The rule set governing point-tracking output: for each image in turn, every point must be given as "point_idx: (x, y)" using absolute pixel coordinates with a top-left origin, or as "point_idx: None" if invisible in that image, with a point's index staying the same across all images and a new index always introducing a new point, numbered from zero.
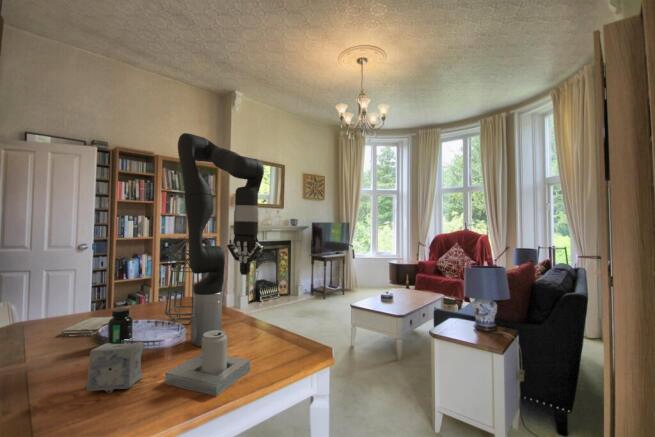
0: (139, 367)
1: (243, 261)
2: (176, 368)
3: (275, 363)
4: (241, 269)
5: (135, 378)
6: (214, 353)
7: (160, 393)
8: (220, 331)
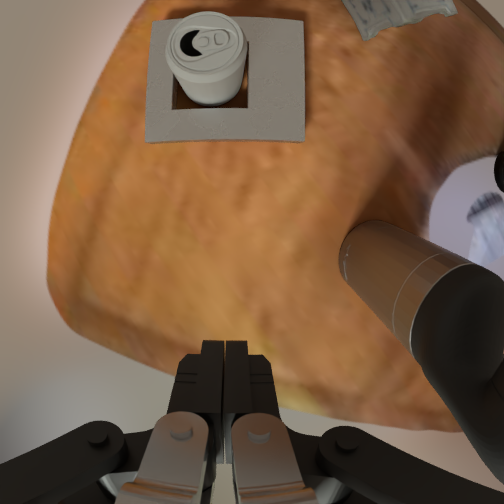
0: (370, 22)
1: (231, 442)
2: (296, 40)
3: (117, 205)
4: (241, 364)
5: (352, 11)
6: (185, 35)
7: (276, 5)
8: (199, 64)
